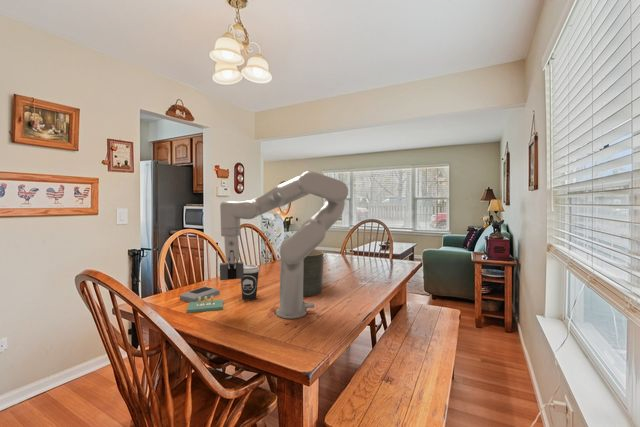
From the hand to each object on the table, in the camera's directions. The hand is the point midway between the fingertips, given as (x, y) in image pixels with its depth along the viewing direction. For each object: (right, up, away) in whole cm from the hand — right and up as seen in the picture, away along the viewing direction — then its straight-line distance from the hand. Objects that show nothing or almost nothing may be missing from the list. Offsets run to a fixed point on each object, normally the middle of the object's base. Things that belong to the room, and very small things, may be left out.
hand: (232, 276), depth 121 cm
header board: (-14, -15, +9) cm, 22 cm away
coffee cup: (+2, -15, +22) cm, 27 cm away
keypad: (-22, -15, +22) cm, 35 cm away
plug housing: (0, -1, 0) cm, 1 cm away
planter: (+26, -15, +35) cm, 46 cm away
